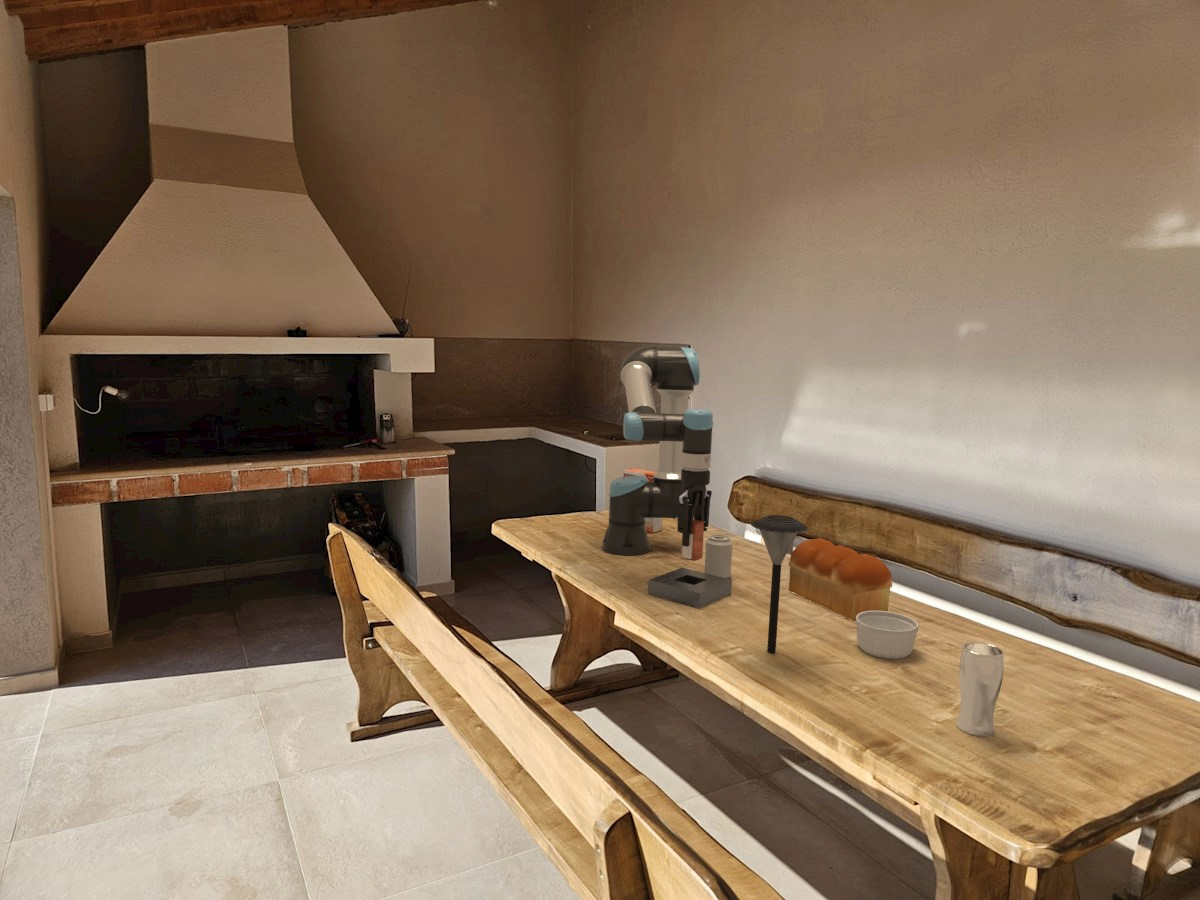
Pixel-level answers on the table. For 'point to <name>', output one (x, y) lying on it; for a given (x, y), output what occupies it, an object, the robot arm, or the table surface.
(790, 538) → the solar garden light
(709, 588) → the socket block
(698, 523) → the peg
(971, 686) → the beer glass
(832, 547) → the bread
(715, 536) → the can
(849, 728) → the table surface
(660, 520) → the cracker box
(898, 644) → the ramekin
